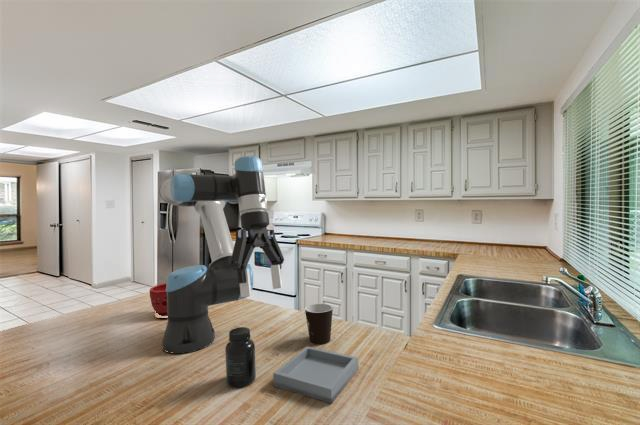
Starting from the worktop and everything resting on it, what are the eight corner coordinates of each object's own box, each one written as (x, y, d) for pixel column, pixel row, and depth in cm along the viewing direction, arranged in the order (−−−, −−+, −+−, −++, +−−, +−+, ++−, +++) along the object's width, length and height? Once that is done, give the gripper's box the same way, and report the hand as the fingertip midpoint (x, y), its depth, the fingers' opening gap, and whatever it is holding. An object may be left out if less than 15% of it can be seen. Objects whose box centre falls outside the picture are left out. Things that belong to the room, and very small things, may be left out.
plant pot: (156, 312, 127) (154, 283, 127) (189, 308, 130) (188, 280, 130) (146, 323, 114) (144, 291, 114) (184, 319, 118) (182, 288, 117)
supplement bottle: (237, 371, 78) (235, 324, 78) (261, 375, 76) (259, 326, 75) (220, 386, 71) (218, 335, 71) (245, 391, 69) (243, 338, 69)
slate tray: (273, 385, 71) (273, 373, 71) (307, 357, 84) (306, 346, 84) (331, 403, 64) (331, 389, 64) (358, 369, 77) (358, 357, 77)
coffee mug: (331, 347, 90) (330, 313, 89) (302, 345, 91) (301, 312, 91) (337, 331, 101) (336, 301, 101) (311, 330, 103) (310, 300, 102)
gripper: (233, 205, 71) (243, 299, 67) (289, 213, 93) (299, 284, 90) (209, 212, 74) (217, 302, 70) (269, 218, 96) (277, 286, 93)
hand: (263, 292), depth 80 cm, fingers open, 13 cm apart
